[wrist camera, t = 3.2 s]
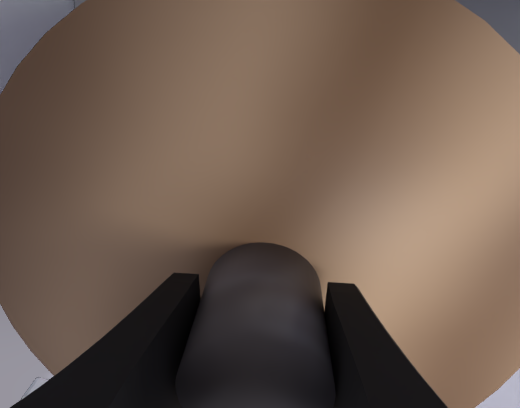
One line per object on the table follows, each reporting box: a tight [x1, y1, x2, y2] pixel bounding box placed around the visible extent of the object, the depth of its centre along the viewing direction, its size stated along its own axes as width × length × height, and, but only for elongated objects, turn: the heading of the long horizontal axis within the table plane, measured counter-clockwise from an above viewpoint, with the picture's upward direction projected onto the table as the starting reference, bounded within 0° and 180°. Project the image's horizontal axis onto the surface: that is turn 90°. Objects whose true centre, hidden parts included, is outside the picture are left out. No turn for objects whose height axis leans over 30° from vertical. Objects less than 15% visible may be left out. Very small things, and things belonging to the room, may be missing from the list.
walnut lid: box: [0, 0, 520, 408], centre depth 9 cm, size 15×15×4 cm
